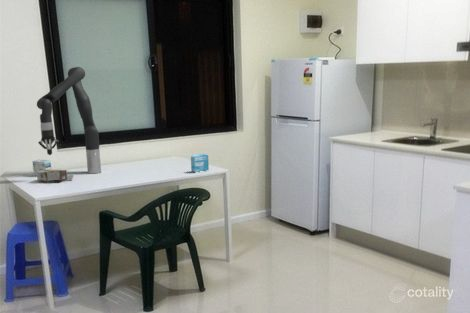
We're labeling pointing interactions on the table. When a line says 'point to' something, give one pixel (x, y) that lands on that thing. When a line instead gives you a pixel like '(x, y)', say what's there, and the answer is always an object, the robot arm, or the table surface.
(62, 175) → the coffee box
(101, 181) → the table surface
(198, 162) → the data package
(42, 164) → the light bulb box
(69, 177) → the mat
